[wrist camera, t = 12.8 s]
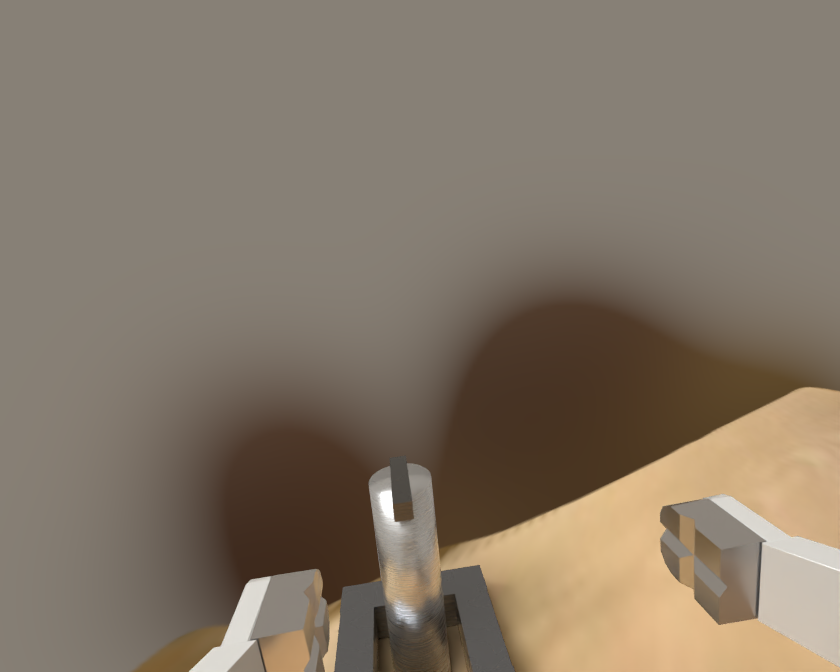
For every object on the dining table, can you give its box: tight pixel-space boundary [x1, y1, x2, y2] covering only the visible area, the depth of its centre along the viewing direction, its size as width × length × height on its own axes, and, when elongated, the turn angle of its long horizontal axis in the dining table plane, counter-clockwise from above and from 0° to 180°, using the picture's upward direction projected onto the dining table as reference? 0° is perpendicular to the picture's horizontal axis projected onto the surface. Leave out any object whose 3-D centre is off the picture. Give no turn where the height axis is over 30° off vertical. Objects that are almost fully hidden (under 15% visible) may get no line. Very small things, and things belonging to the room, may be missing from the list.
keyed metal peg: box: [369, 456, 451, 672], centre depth 24 cm, size 4×5×13 cm
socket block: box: [334, 565, 515, 672], centre depth 25 cm, size 10×10×2 cm
